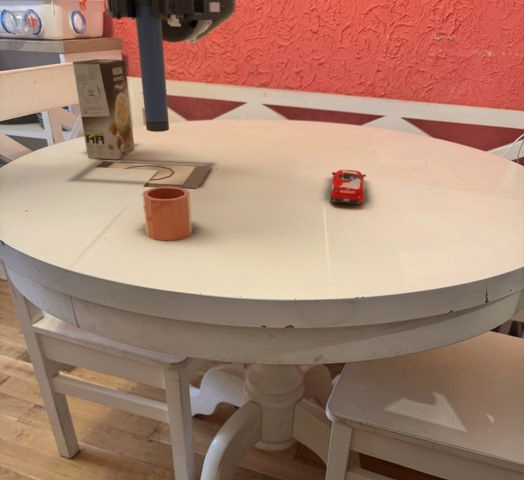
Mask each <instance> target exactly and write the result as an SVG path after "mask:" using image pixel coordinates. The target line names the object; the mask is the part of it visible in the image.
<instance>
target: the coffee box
mask: <svg viewBox="0 0 524 480" xmlns="http://www.w3.org/2000/svg"><path fill="white" fill-rule="evenodd" d="M72 66H73V73H74V78H75V84H76V86H75V87H76V91H77V98H78V103H79V111H80V116H81V123H82V130H83V136H84V142H85V148H86V156H87V158H89V159H90V158H91V159H104V160H120V159H121V158H122V157H125V156H126V155H128V154H129V153H131V152H133V151H134V150H135V141H134V140H135V139H134V131H133V130H134V129H133V121H132V111H131V102H130V94H129V85H128V84H129V83H128V75H127V67H126V66H127V65H126V60H125V59H109V58H108V59H107V58H102V59H101V58H100V59H98V58H93V59H85V60H77V61H73V62H72Z"/></svg>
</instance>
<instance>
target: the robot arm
mask: <svg viewBox="0 0 524 480" xmlns="http://www.w3.org/2000/svg"><path fill="white" fill-rule="evenodd" d="M105 5H106V14H107V17H109V18H111V19H116V20H122V19H123V18H124V19H125V18H126V19H130V21H135V22H136V16H135V6H134V5H135V4H134V1H133V0H105ZM236 7H237V2H236V0H152V10H153V17H154V18H155V19H161V25H162V39H163V42H167V43H168V42H169V43H180V42H183V41H184V42H186V43H188V44H190V45H191V44H196V43H198V42H199V41H201V40H202V39H204V38H205V37H206V36H208V35H209V34H210V33H212V32H213V31H214V30H216V29H218V28H220V26H221V25H223V24H224V23H225V22H228V20H230V19H231V17H233V15H234V14H235V11H236Z"/></svg>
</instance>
